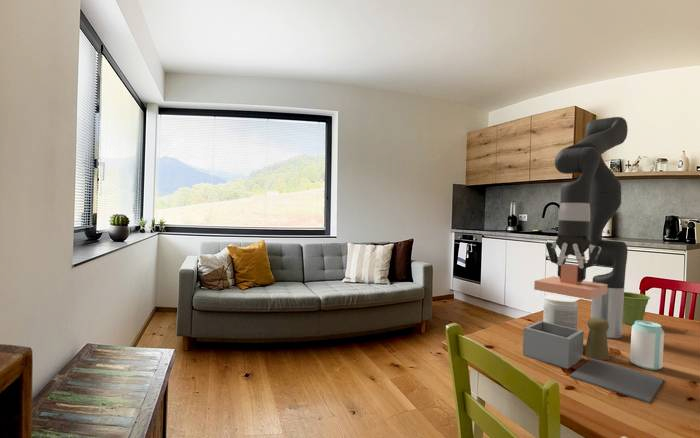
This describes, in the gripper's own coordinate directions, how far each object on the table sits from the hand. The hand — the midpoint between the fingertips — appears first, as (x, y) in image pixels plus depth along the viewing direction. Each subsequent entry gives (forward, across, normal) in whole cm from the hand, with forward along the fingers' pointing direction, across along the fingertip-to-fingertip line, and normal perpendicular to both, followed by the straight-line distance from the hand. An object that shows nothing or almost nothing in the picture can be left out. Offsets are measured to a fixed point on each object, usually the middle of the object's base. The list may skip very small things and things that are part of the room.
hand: (570, 279), depth 102 cm
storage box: (+23, +4, -1) cm, 24 cm away
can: (+24, -15, -16) cm, 32 cm away
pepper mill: (+24, -4, -13) cm, 27 cm away
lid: (+3, 0, 0) cm, 3 cm away
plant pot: (+23, -1, -64) cm, 68 cm away
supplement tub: (+24, +7, -14) cm, 29 cm away
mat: (+23, -12, +1) cm, 26 cm away
